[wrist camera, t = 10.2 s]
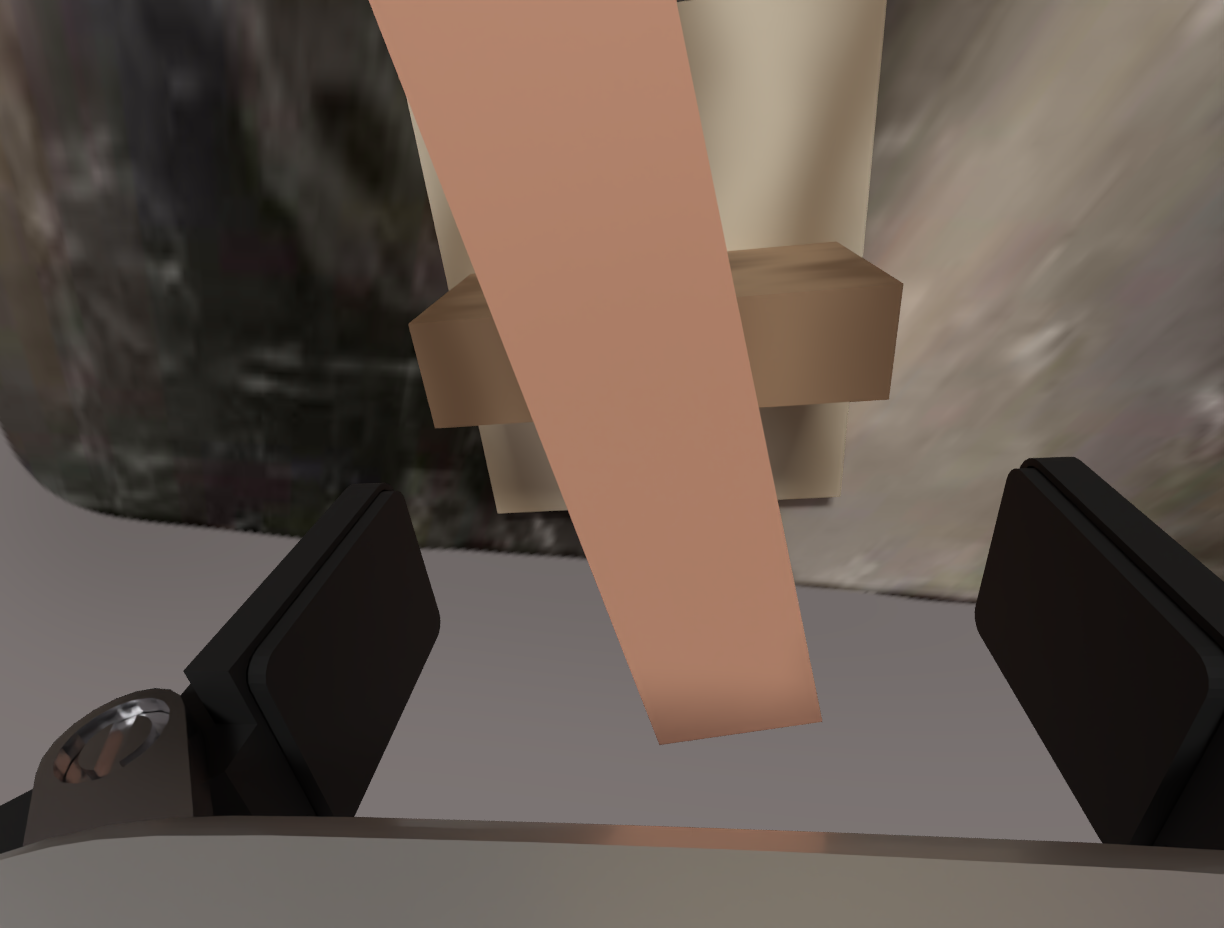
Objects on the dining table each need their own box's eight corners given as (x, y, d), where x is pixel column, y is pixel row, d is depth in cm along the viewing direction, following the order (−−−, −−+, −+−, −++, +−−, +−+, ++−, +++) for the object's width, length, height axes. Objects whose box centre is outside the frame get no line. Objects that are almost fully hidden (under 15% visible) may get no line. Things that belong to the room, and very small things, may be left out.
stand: (877, -18, 20) (1000, -97, 13) (833, 483, 29) (892, 599, 22) (406, 43, 22) (284, 1, 15) (503, 500, 31) (457, 614, 24)
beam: (650, -40, 14) (648, -141, 9) (781, 578, 22) (822, 721, 17) (466, 32, 15) (361, -21, 9) (658, 601, 23) (659, 744, 17)
